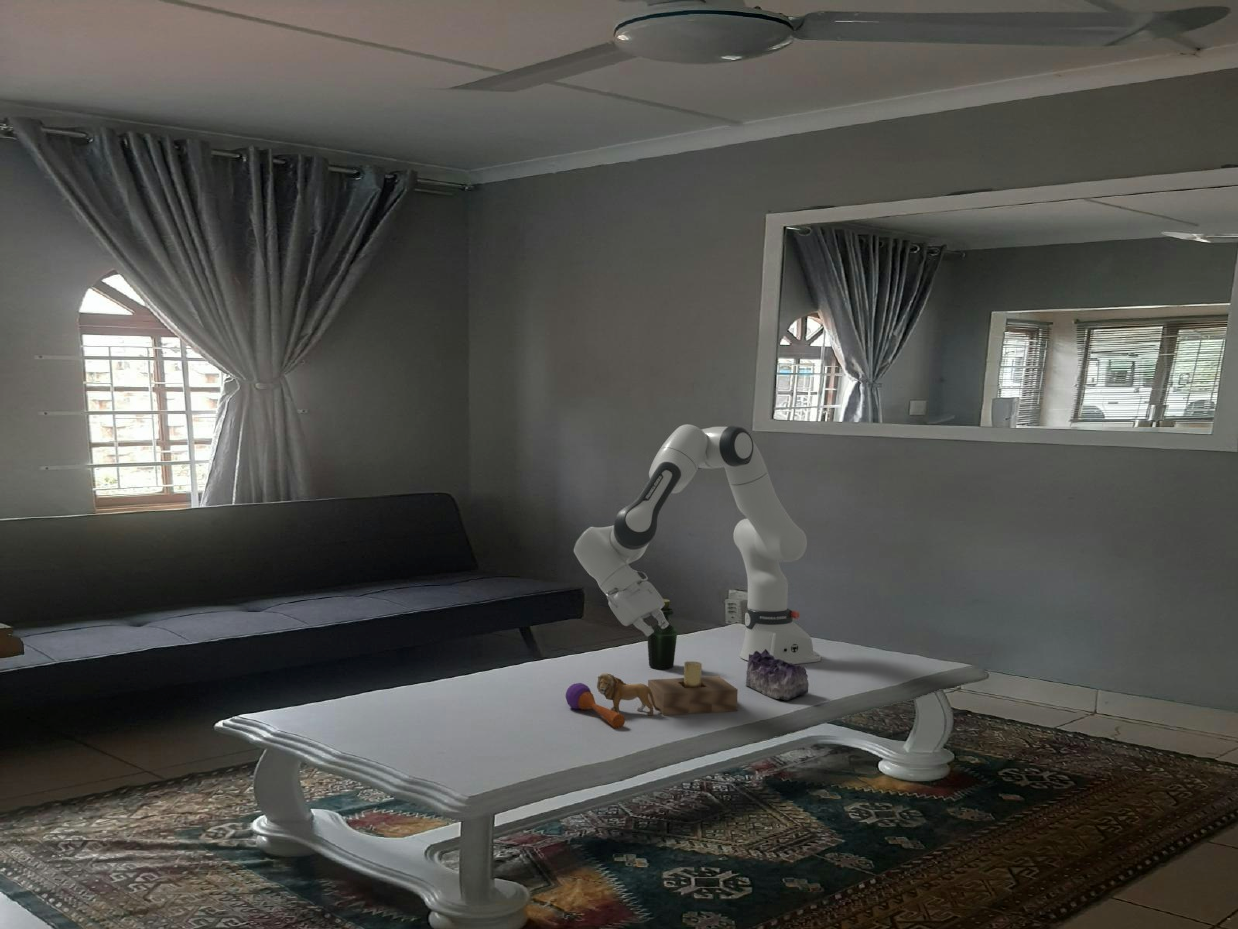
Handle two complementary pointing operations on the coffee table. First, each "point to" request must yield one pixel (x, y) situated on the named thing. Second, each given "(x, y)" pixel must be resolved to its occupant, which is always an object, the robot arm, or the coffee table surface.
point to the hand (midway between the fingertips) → (658, 630)
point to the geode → (775, 676)
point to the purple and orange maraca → (591, 704)
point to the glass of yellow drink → (692, 675)
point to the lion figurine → (624, 692)
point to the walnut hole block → (693, 696)
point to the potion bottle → (662, 643)
